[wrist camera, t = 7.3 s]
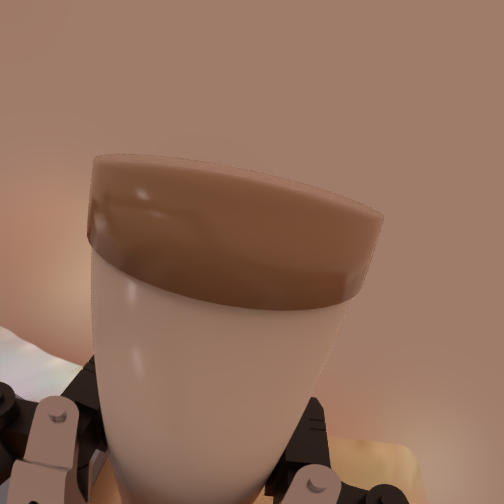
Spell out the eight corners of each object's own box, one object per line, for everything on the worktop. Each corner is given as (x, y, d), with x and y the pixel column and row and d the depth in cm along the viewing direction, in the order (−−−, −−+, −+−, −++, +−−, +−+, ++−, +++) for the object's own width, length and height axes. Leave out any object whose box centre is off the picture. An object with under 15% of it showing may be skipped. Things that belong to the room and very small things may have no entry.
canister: (110, 538, 7) (24, 159, 3) (142, 459, 12) (160, 153, 8) (230, 570, 7) (442, 250, 3) (242, 484, 12) (347, 194, 8)
